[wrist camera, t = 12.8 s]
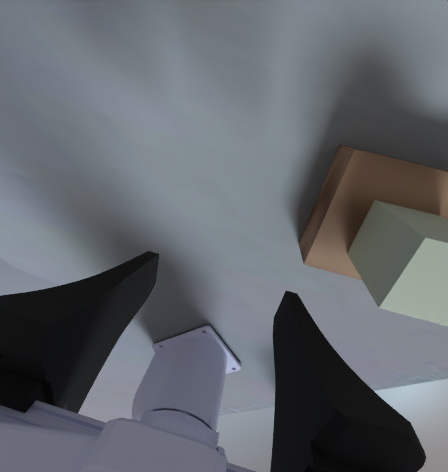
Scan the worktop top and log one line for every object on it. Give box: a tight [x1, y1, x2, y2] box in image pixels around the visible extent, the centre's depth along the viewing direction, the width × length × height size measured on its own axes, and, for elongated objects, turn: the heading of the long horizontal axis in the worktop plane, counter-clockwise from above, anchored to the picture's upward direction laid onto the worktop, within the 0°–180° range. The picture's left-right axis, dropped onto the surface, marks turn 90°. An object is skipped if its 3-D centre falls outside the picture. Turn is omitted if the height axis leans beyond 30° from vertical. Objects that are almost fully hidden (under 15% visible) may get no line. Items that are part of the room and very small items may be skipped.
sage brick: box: [347, 200, 448, 326], centre depth 14 cm, size 4×4×6 cm
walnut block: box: [299, 145, 448, 280], centre depth 19 cm, size 9×9×4 cm
